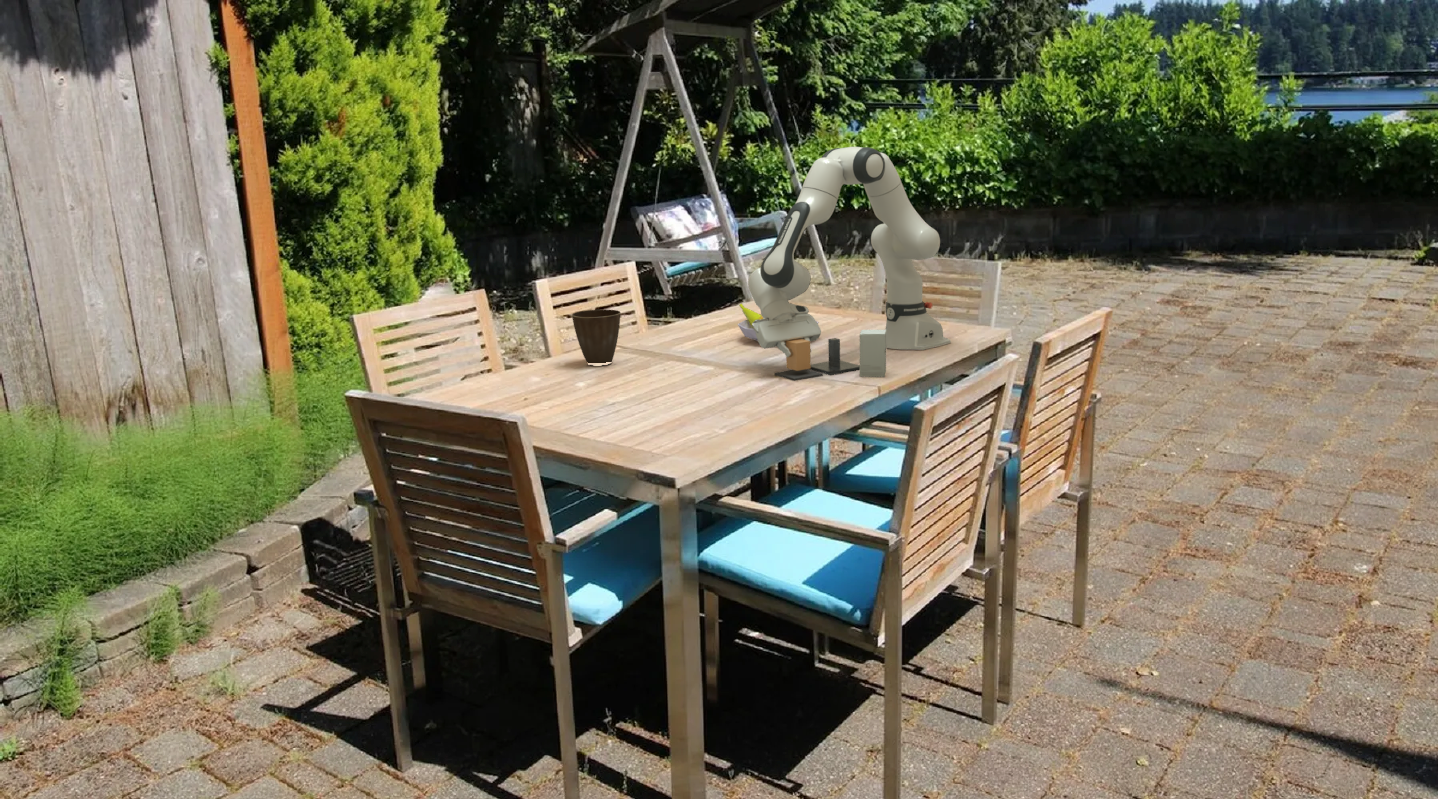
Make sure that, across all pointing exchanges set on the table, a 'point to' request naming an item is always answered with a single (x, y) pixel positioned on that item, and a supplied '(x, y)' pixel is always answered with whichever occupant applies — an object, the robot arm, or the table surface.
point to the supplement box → (872, 353)
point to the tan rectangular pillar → (799, 354)
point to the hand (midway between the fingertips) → (799, 354)
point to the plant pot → (597, 334)
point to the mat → (798, 374)
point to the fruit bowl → (749, 323)
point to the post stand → (834, 361)
